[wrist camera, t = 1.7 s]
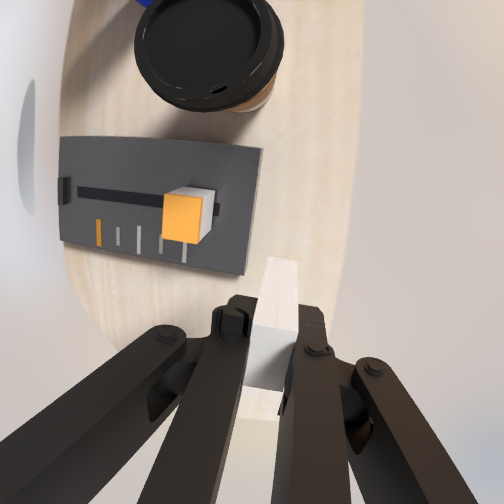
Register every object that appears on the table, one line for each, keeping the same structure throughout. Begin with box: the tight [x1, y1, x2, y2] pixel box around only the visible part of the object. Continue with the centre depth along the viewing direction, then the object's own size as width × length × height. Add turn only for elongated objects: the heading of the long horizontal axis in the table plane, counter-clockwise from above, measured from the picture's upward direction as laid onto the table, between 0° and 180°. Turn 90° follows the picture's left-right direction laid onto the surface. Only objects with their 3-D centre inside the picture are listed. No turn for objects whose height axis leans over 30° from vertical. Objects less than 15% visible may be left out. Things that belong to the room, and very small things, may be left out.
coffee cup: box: [134, 0, 284, 113], centre depth 20 cm, size 8×8×15 cm
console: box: [58, 136, 263, 276], centre depth 30 cm, size 12×22×3 cm, turn 82°
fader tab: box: [162, 187, 215, 244], centre depth 26 cm, size 4×3×4 cm
